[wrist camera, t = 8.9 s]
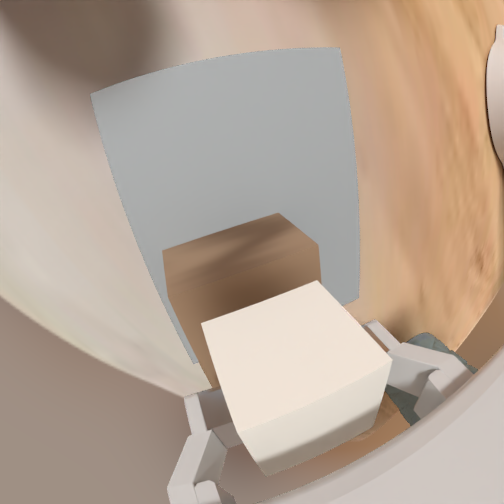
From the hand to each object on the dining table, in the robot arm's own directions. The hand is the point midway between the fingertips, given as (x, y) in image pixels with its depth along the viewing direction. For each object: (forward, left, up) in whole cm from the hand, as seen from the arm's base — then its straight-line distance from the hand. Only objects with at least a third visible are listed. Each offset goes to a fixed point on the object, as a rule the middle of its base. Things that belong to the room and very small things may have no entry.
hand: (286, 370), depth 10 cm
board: (-2, -3, -8) cm, 8 cm away
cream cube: (0, 0, -2) cm, 2 cm away
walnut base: (0, 0, -7) cm, 7 cm away
